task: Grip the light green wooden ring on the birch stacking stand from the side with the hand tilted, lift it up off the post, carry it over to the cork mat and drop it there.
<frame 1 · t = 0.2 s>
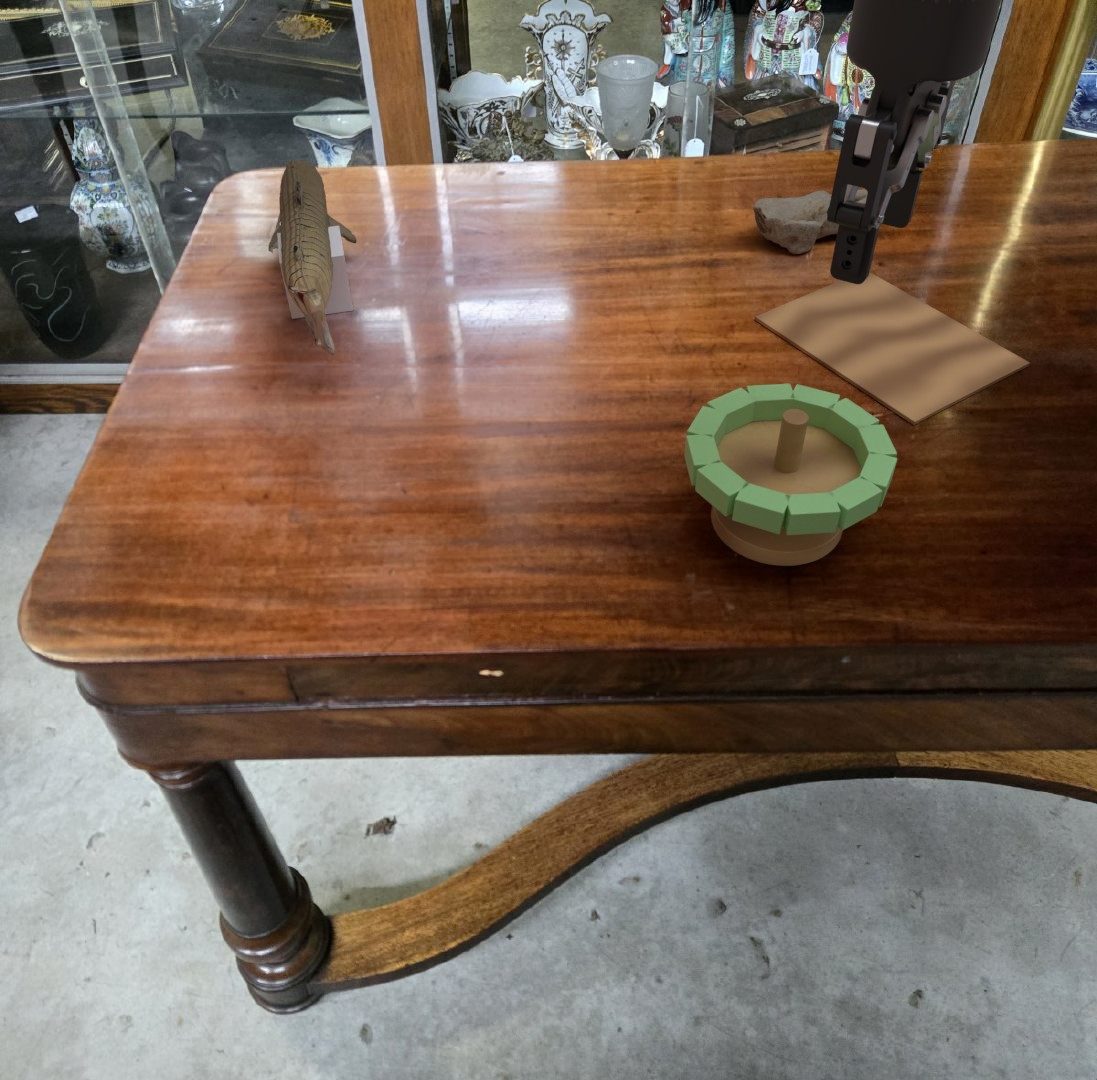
hand: (870, 250, 66), 22 cm above the table, tool pointing down, fingers open, 8 cm apart
mat: (887, 342, 97), on the table
ring: (788, 454, 75), point 6 cm above the table, touching stand
stand: (776, 519, 80), on the table
sculpture: (812, 235, 112), on the table
wood carving: (322, 311, 103), on the table
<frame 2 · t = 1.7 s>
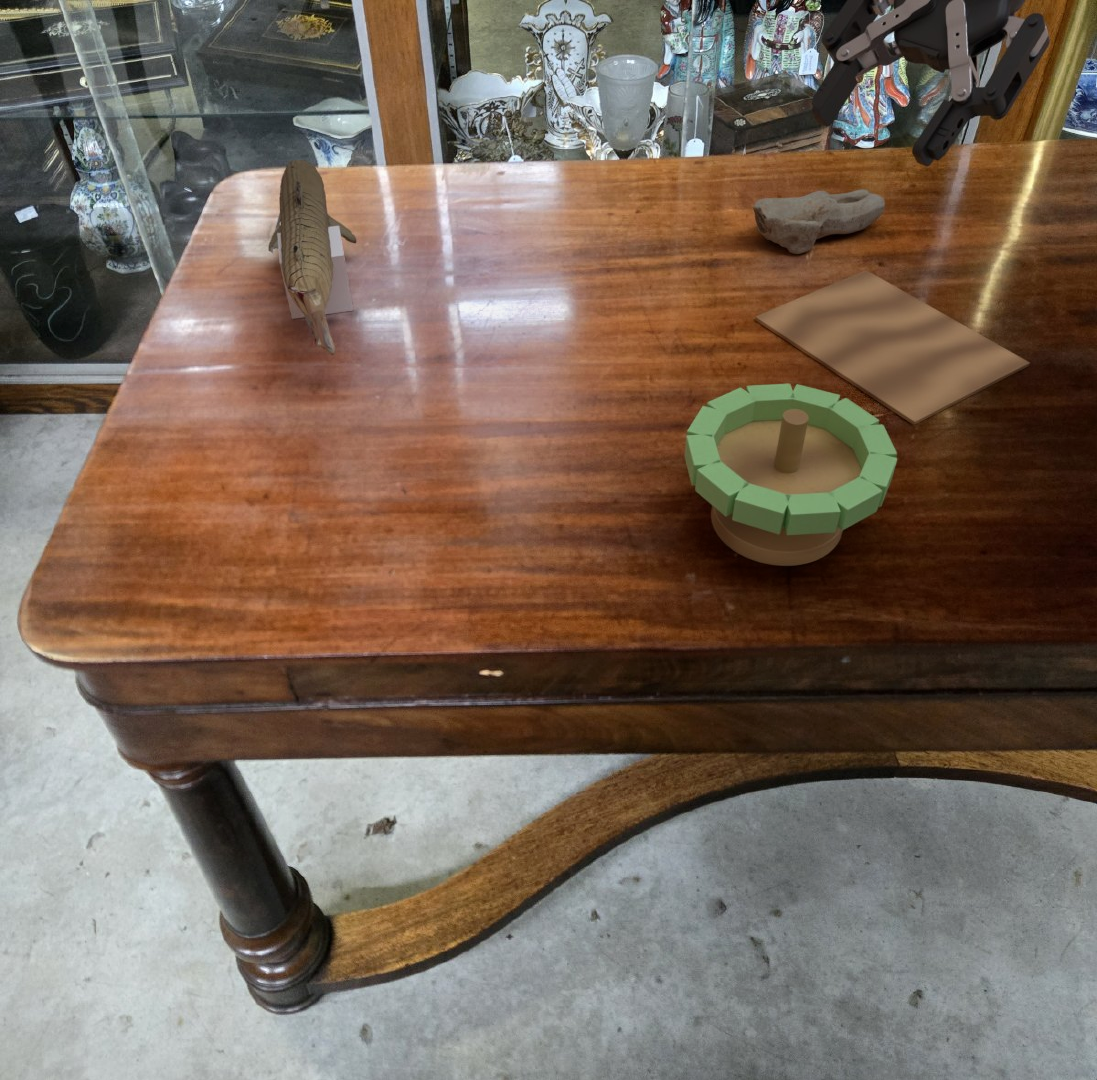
hand: (867, 139, 72), 24 cm above the table, tool tilted 45°, fingers open, 8 cm apart
nothing on the table moved.
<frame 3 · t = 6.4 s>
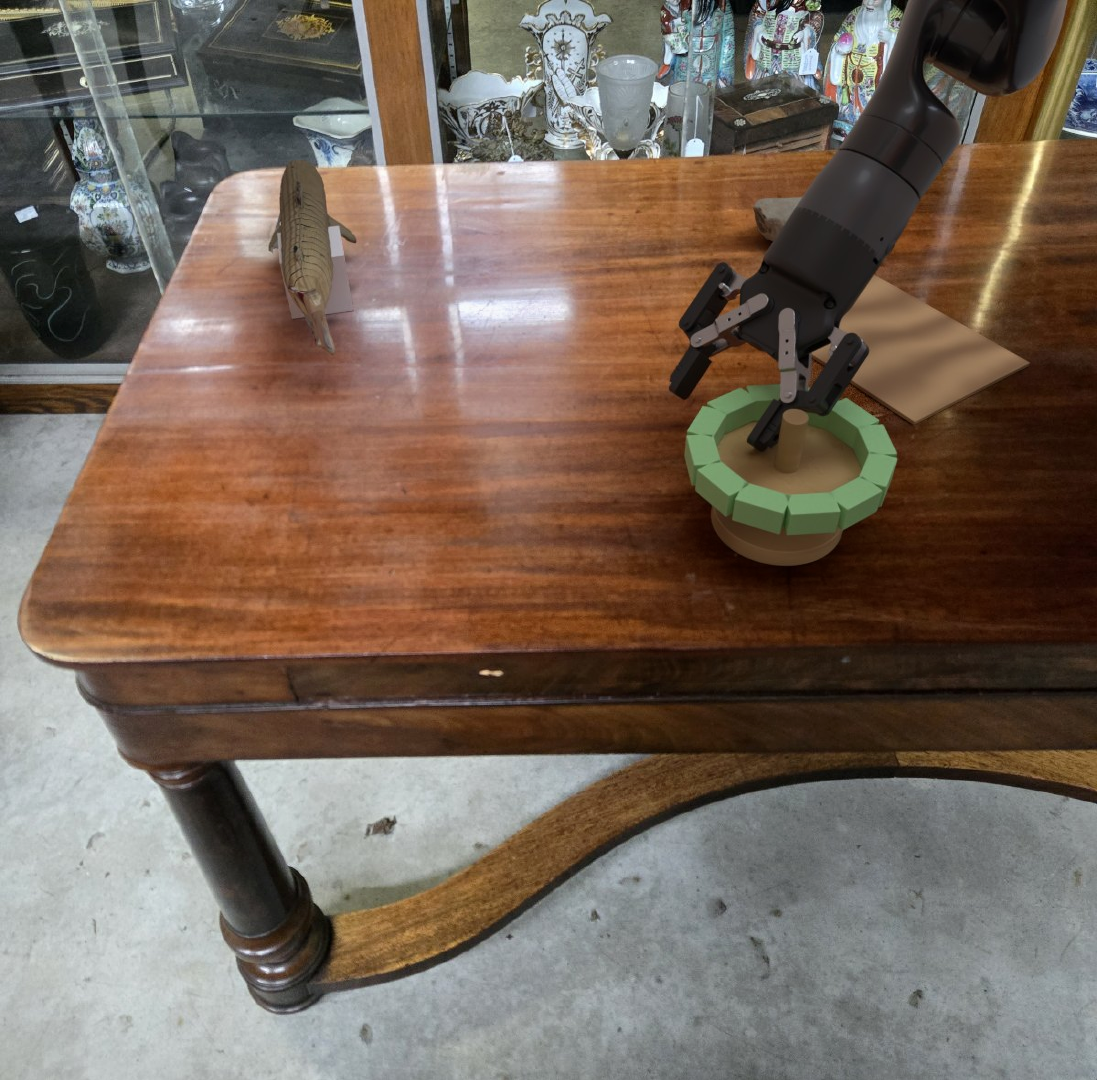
hand: (714, 420, 79), 6 cm above the table, tool tilted 45°, fingers open, 7 cm apart
nothing on the table moved.
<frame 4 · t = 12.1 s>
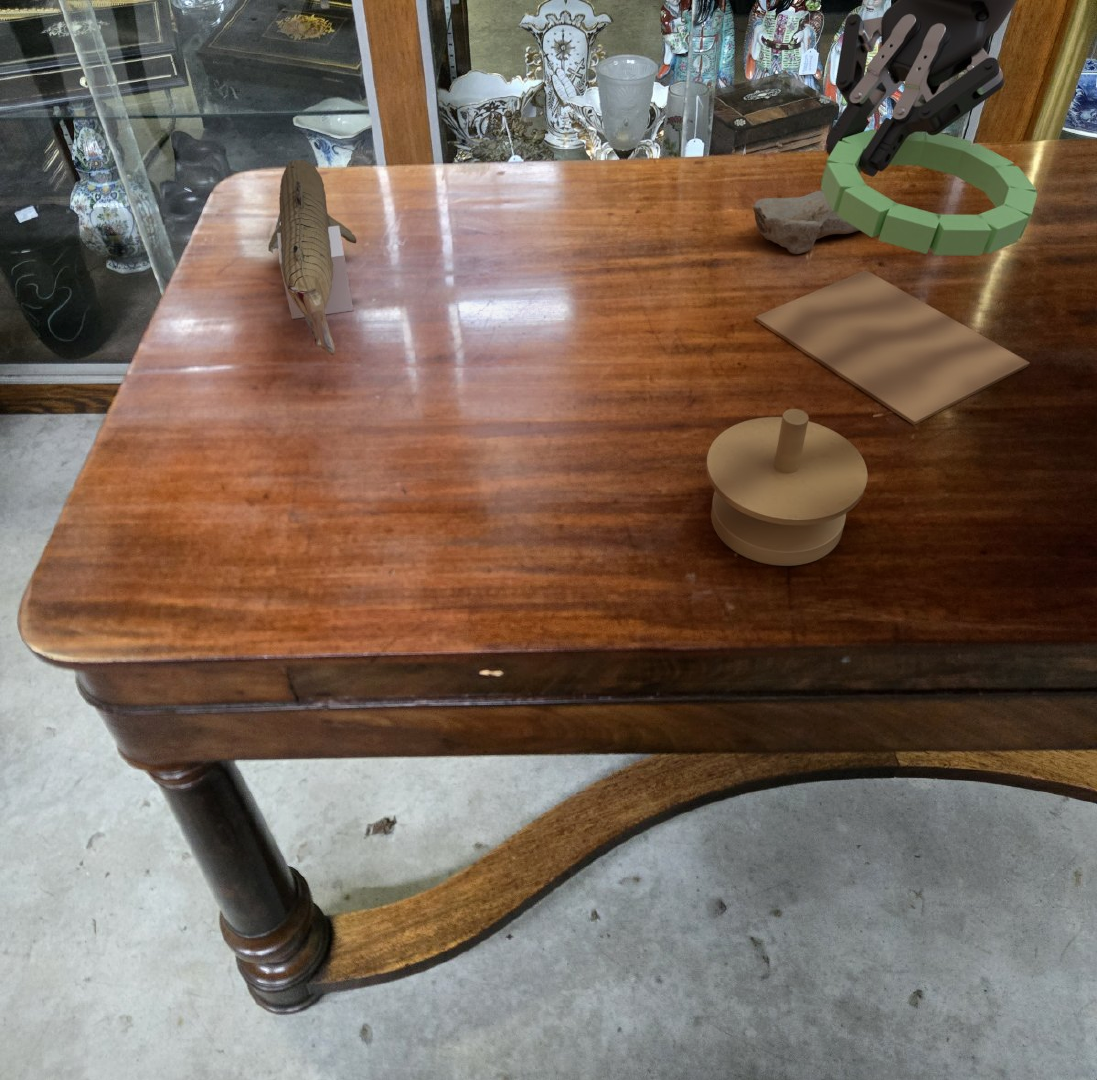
hand: (849, 163, 78), 20 cm above the table, tool tilted 45°, fingers closed on ring, 2 cm apart
ring: (927, 188, 75), point 20 cm above the table, tilted 5°, touching gripper
everything else where it was.
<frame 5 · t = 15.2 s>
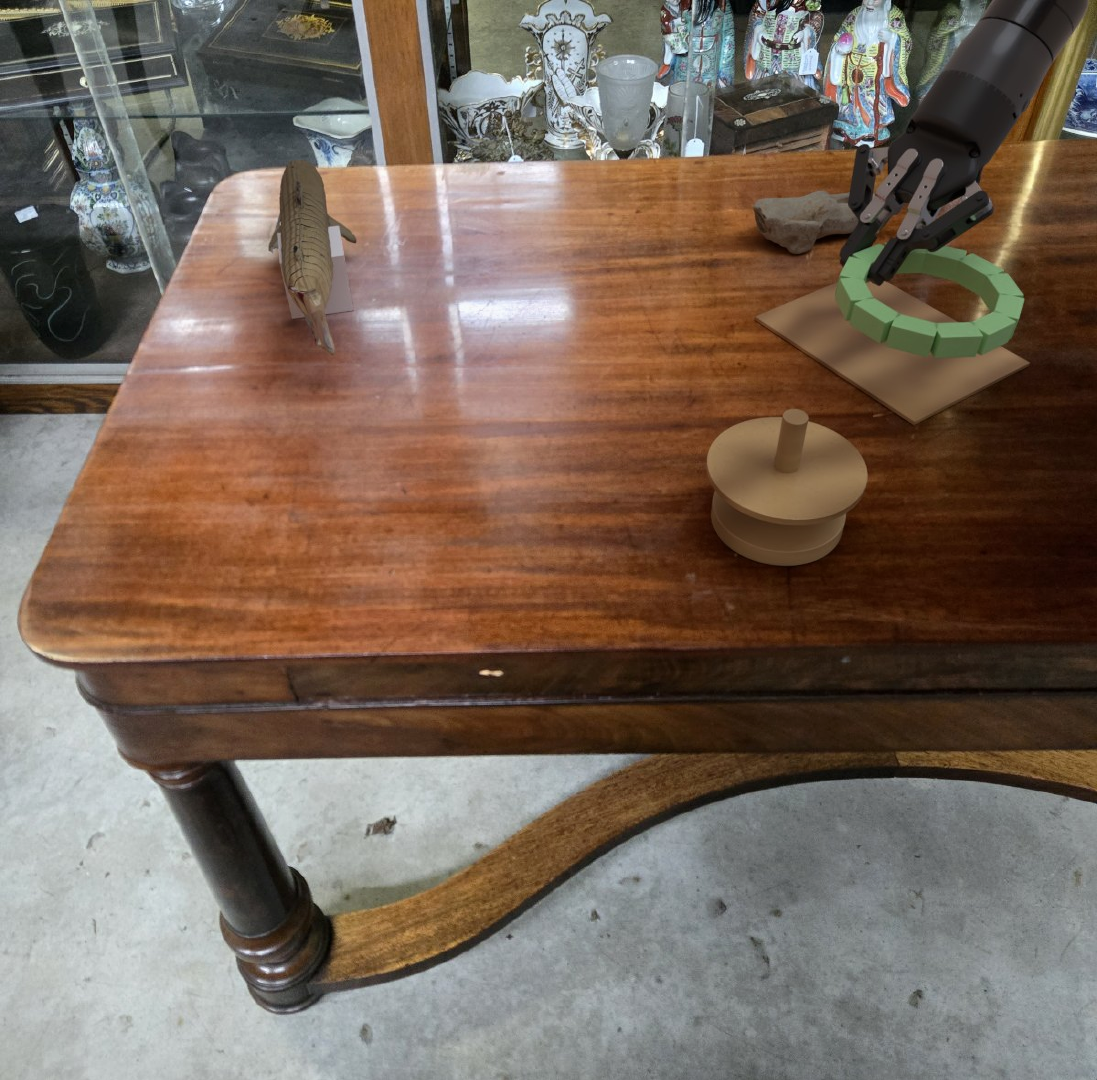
hand: (859, 273, 90), 8 cm above the table, tool tilted 45°, fingers closed on ring, 2 cm apart
ring: (927, 296, 87), point 8 cm above the table, touching gripper
everything else where it was.
when the fingers open (1 cm above the table, at t = 17.3 s): ring stays where it is, resting on mat.
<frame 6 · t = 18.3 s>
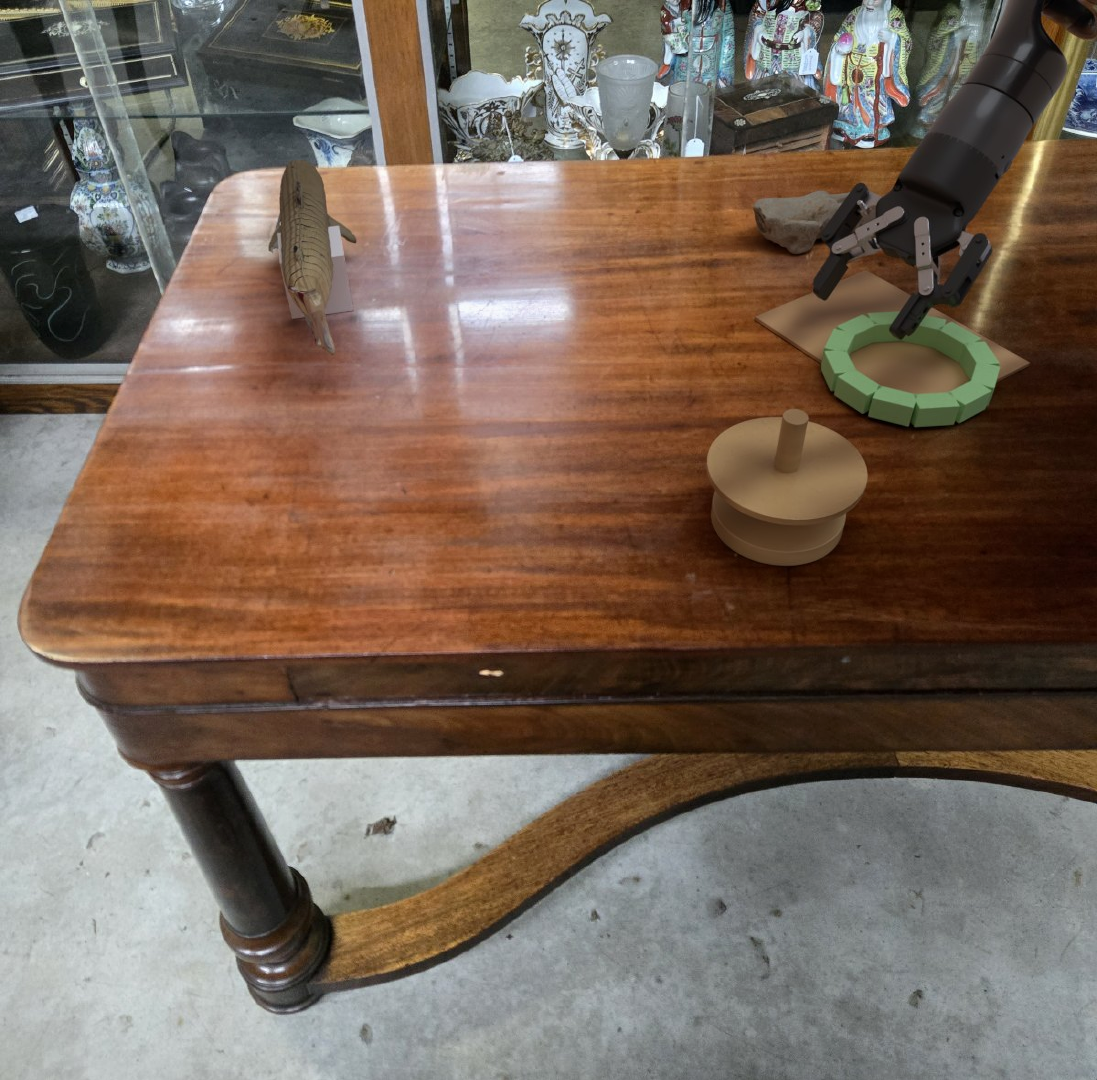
hand: (855, 315, 93), 4 cm above the table, tool tilted 45°, fingers open, 8 cm apart
ring: (908, 366, 92), point 1 cm above the table, touching mat
everything else where it was.
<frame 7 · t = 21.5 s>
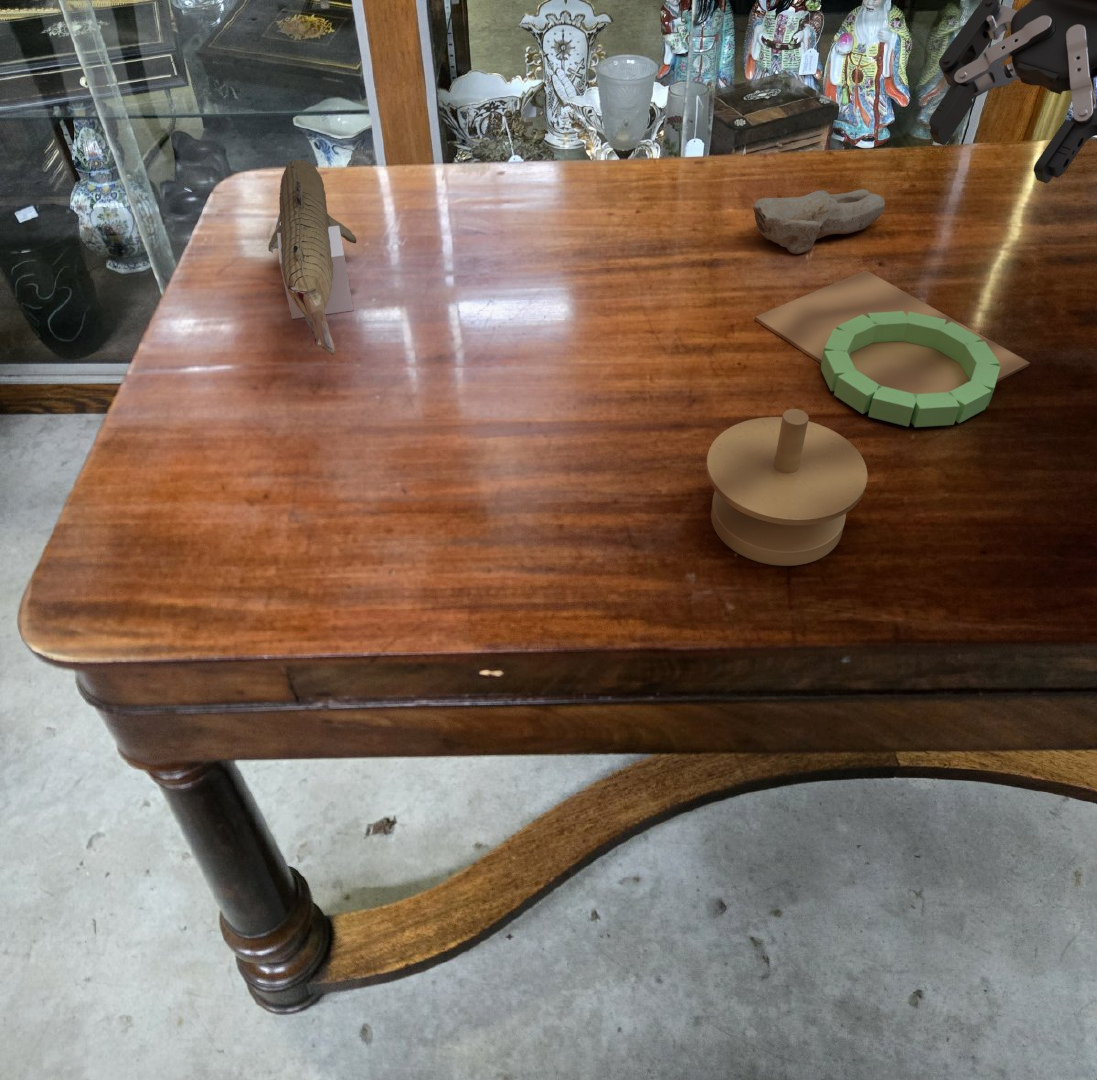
hand: (986, 157, 75), 22 cm above the table, tool tilted 45°, fingers open, 8 cm apart
nothing on the table moved.
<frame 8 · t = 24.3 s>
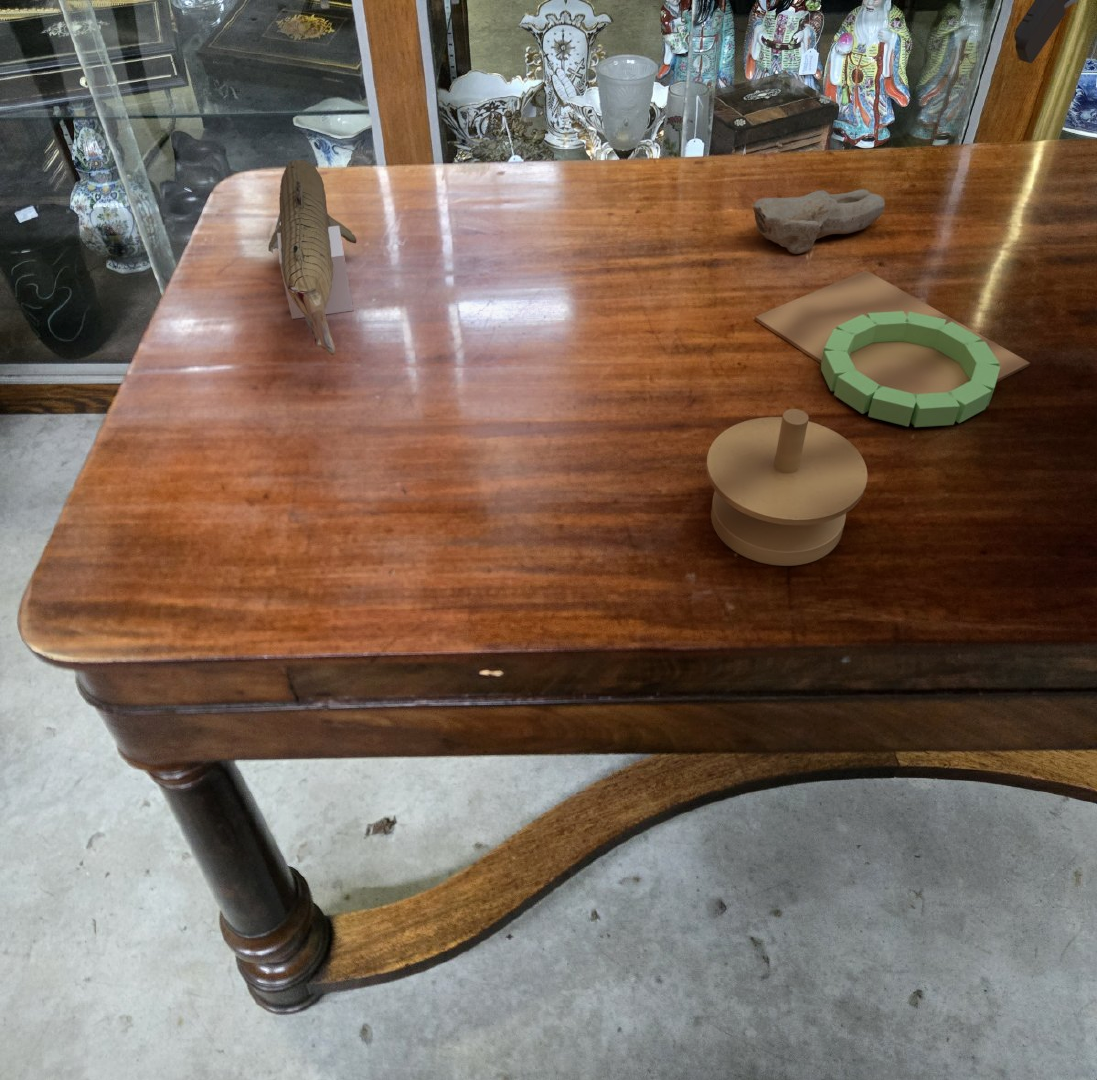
hand: (1085, 74, 63), 31 cm above the table, tool tilted 45°, fingers open, 8 cm apart
nothing on the table moved.
at the end: ring inside the target area on the mat (5.1 cm from its centre), point 1.4 cm above the mat's base; ring tilted 0°; the gripper is holding nothing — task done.
